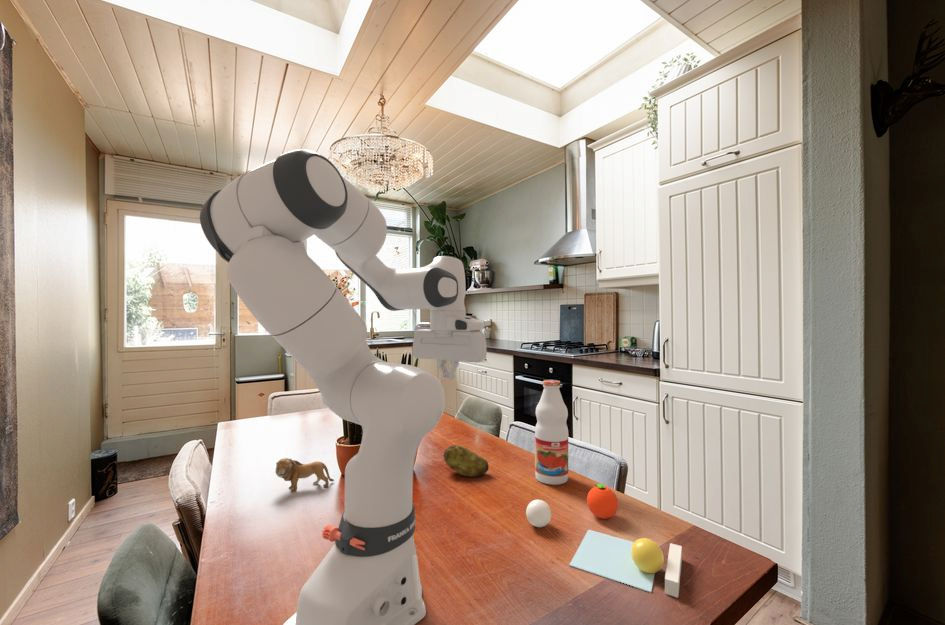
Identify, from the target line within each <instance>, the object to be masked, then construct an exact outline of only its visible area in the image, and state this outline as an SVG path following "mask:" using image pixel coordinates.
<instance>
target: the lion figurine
mask: <svg viewBox="0 0 945 625" xmlns="http://www.w3.org/2000/svg"><path fill="white" fill-rule="evenodd" d="M275 465H276V466H275V474H276V476H277V477H278V478H281V479H283V480H284V482H290V483H291V485H290V486H289V487H288V489H289V490H291V491H290V493H293V494H294V493H296V492H297V491H298V482H299V479H306V478H307V479H308V478H309V477H311V476H313V475H315V476H316V481H314V482H312V485H314V486H315V485H318V484H319V483H320V481H323V482H324V484H323V485H322V486H323V487H324V488H327V487H329V482H335V480H334V479H333V478H331V477H330V473H329V469H328V467H327V465H326V464H325V463H324V462H322V461H314V462H309V463H301V462H299V461H298V460H294V459H292V458H287V457H284V458H281V459H279V460H278V461H277V462H276V464H275ZM324 471H325V472H324ZM325 473H326V474H325Z"/></svg>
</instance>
